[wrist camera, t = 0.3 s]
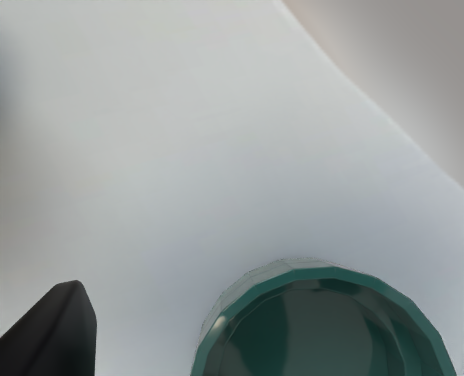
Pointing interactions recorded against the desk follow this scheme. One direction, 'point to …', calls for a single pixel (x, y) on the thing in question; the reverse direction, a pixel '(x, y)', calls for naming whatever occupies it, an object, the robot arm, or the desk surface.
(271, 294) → the bowl
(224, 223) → the desk surface
